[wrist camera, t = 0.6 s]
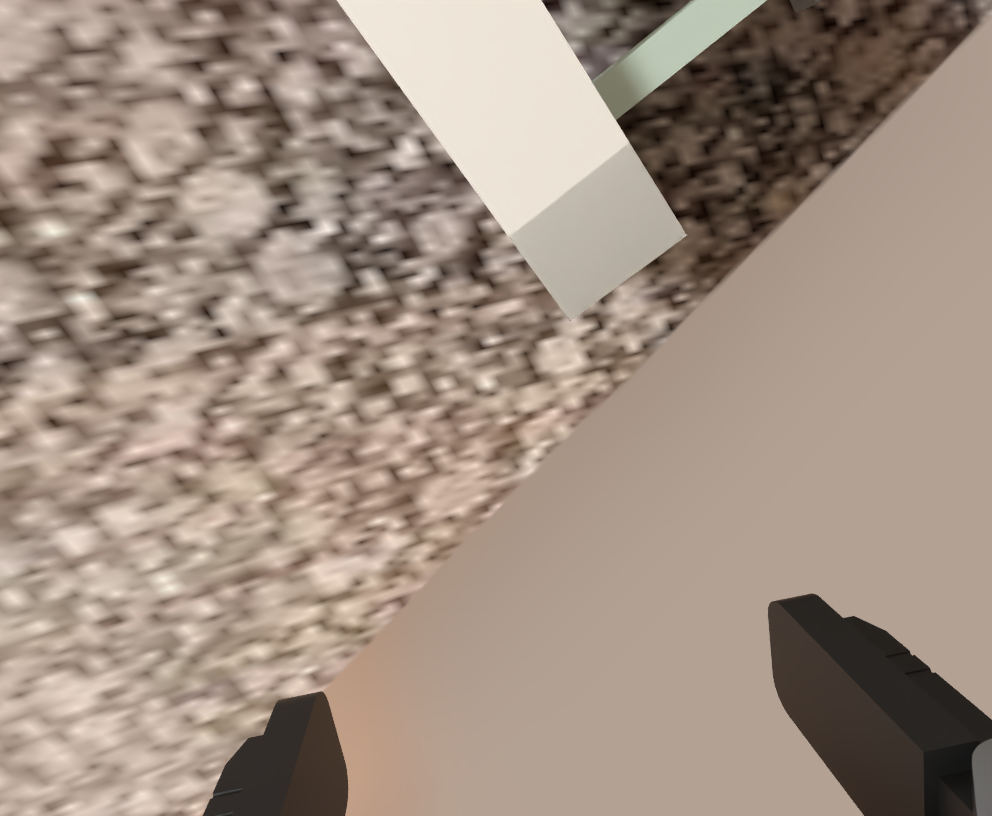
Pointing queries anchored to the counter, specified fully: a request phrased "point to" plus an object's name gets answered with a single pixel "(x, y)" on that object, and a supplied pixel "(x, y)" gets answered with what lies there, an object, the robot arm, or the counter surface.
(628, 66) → the door
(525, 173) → the door frame
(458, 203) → the counter surface
